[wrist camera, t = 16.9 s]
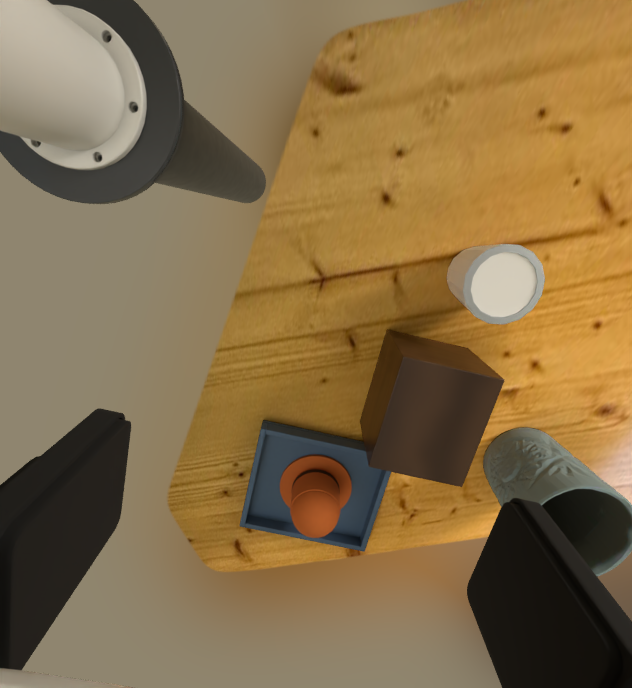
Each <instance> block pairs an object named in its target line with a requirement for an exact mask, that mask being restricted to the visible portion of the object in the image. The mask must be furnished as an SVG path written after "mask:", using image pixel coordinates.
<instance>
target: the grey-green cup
mask: <svg viewBox="0 0 632 688" xmlns="http://www.w3.org/2000/svg"><path fill="white" fill-rule="evenodd" d="M483 467H484V472H485V475H486V477H487V479H488V482H489V484H490V486H491V488H492V490H493V492H494V493H495V495H496V497H497V499H498V501H499V503H500V505H501V507H502V506H503V504H504V503H506V502H509V501H510V500H511V499H513V498H519V499H524V500H529V501H533V502H537V503H539V504H540V505H542V507H543V508H544V509H545V510H546V512H547V513H548V514H549V516H550V517H551V518H552V519H553V521H554V522H555V523H556V525H557V526H558V527H559V528H560V530H561V531H562V532H563V534H564V535H565V536H566V537H567V539H568V540H569V541H570V543H571V544H572V545H573V547H574V548H575V549H576V550H577V552H578V553H579V554H580V556H581V557H582V558H583V559H584V561H585V562H586V563H587V565H588V566H589V567H590V568H591V570H592V571H593V572H594V574H595V575H596V576H600V575H602V574H604V573H606V572H608V571H610V570H612V569H614V568H615V567H616V566H618V565H619V564H620V563H622V562H623V560H624V559H625V558H626V557H627V556H628V555H629V554H630V552H631V551H632V505H631V503H630V502H629V501H628V500H627V499H626V498H624V497H623V496H622V495H621V494H620V493H618V492H617V491H616V490H615V489H613V488H612V487H611V486H610V485H608V484H607V483H606V482H604V481H603V480H601V479H600V478H599V477H598V476H597V475H596V474H595V473H594V472H592V471H591V470H590V469H589V468H588V467H587V466H585V465H584V464H583V463H582V462H581V461H579V460H578V459H577V458H575V457H573V456H572V454H571V453H570V452H568V451H567V450H566V449H565V448H563V447H562V446H561V445H560V444H559V443H557V442H556V441H555V440H554V439H553V438H552V437H550V436H549V435H548V434H546V433H545V432H542V431H540V430H537V429H534V428H516V429H512V430H509V431H507V432H505V433H503V434H501V435H500V436H498V437H497V438H496V439H495V440H494V441H493V442H492V443H491V444H490V445H489V447H488V448H487V450H486V453H485V455H484V460H483Z"/></svg>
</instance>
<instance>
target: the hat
mask: <svg viewBox="0 0 632 688" xmlns="http://www.w3.org/2000/svg"><path fill="white" fill-rule="evenodd" d="M351 491H352V484H351V478H350V475H349V473H348V471H347V470H346V468H345V467H344V466H343V465H342V464H341V463H340V462H338V461H337V460H335V459H333V458H331V457H328V456H325V455H315V454H314V455H307V456H303V457H300V458H298V459H296V460H294V461H293V462H292V463H290V464H289V465H288V466H287V467H286V469H285V470H284V472H283V474H282V476H281V480H280V493H281V496H282V498H283V500H284V502H285V503H286V505H287V506H288V507H289V508H290V514H291V517H292V521H293V523H294V525H295V527H296V528H297V530H298V531H299V532H300V533H302V534H303V535H305V536H307V537H311V538H320V537H323V536H326V535H327V534H329V533H330V532H331V531H332V530H333V529H334V528H335V526H336V524H337V522H338V519H339V516H340V509H342V508H343V507H344V506H345V504H346V503H347V502H348V500H349V498H350V495H351Z"/></svg>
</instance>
